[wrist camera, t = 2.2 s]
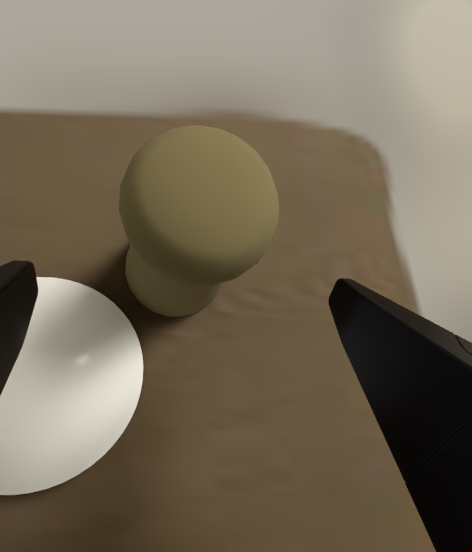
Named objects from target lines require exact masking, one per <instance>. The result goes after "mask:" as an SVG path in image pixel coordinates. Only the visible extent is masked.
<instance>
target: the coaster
mask: <svg viewBox="0 0 472 552" xmlns="http://www.w3.org/2000/svg"><path fill="white" fill-rule="evenodd" d="M36 278H37V284H38V297H37V300H36V303H35V307H34V310H33V314H32V317H31V320H30V324H29V327H28V330H27V334H26V337H25V340H24V343H23V346H22V349H21V351H20V353H19V356H18V358H17V360H16V362H15V365H14V367H13V369H12V371H11V373H10V376H9V378H8V380H7V382H6V385H5V387H4V389H3V391H2V393H1V396H0V495H18V494H26V493H32V492H36V491H40V490H44V489H48V488H50V487H53V486H56V485H58V484H61V483H63V482H65V481H67V480H69V479H71V478H73V477H75V476H77V475H78V474H80V473H81V472H83V471H84V470H86V469H87V468H89V467H90V466H92V465H93V464H94V463H95V462H96V461H98V460H99V459H100V458H101V457H102V456H103V455H104V454H105V453H106V452H107V451H108V450H109V449H110V448H111V447H112V446H113V445H114V444H115V442H116V441H117V440H118V438H119V437H120V436H121V435H122V433H123V432H124V430H125V428H126V427H127V425H128V423H129V422H130V420H131V418H132V415H133V413H134V411H135V409H136V406H137V403H138V400H139V396H140V392H141V387H142V381H143V356H142V350H141V346H140V342H139V339H138V337H137V334H136V332H135V330H134V328H133V326H132V324H131V322H130V321H129V320H128V318H127V317H126V316H125V314H124V313H123V312H122V311H121V310H120V309H119V308H118V307H117V306H116V305H115V304H114V303H113V302H112V301H111V300H109V299H108V298H107V297H106V296H104V295H103V294H101V293H99V292H98V291H96V290H94V289H92V288H90V287H88V286H85V285H83V284H81V283H77V282H74V281H70V280H66V279H59V278H49V277H36Z"/></svg>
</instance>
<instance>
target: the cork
mask: <svg viewBox="0 0 472 552" xmlns="http://www.w3.org/2000/svg"><path fill="white" fill-rule="evenodd" d="M119 212H120V215H121V219H122V222H123V226H124V229H125V232H126V236H127V239H128V241H129V243H130V247H129V250H128V253H127V256H126V266H125V275H126V278H127V282H128V285H129V289H130V290H131V292H132V293H133V294H134V296H135V297H136V299H137V300H138V301H139V302H140V303H141V304H142V305H144V306H145V307H146V308H148V309H149V310H151V311H152V312H155V313H158V314H161V315H164V316H167V317H184V316H187V315H190V314H193V313H197V312H199V311H200V310H202V309H203V308H205V307H206V306H207V305H209V304H210V303H211V302H212V301H213V299H214V298H215V296H216V295H217V294H218V292H219V291H220V289H221V287H222V285H223V283H224V282H226V281H230V280H233V279H235V278H237V277H238V276H240V275H241V274H243V273H244V272H245V271H247V270H248V269H250V268H251V267H252V266H254V265H255V264H257V263H258V262H259V260H260V259H261V257H262V256H263V255H264V253H265V252H266V250H267V249H268V247H269V246H270V244H271V242H272V240H273V237H274V234H275V230H276V226H277V223H278V219H279V202H278V193H277V190H276V187H275V184H274V182H273V179H272V176H271V173H270V170H269V168H268V167H267V166H266V164H265V163H264V161H263V160H262V159H261V157H260V156H259V154H258V153H257V152H256V151H255V150H254V149H253V148H251V147H250V146H249V145H248V144H247V143H245V142H244V141H243V140H242V139H241V138H239V137H237V136H235V135H232V134H230V133H228V132H226V131H224V130H222V129H219V128H213V127H207V126H201V125H193V126H185V127H177V128H174V129H171V130H169V131H167V132H165V133H162V134H160V135H158V136H156V137H154V138H152V139H150V140H149V141H148V142H147V143H146V144H145V145H144V146H143V147H142V148H141V149H140V150H139V151H138V152H137V153H136V154H135V155H134V156H133V158H132V160H131V162H130V164H129V167H128V169H127V171H126V173H125V175H124V178H123V180H122V182H121V185H120V201H119Z"/></svg>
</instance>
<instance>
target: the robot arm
mask: <svg viewBox="0 0 472 552" xmlns="http://www.w3.org/2000/svg"><path fill="white" fill-rule="evenodd" d="M37 297H38V284H37V278H36V273H35V268H34V265H33V263H32V262H30V261H17V260H15V261H11V262H9V263H7V264H4V265H2V266H0V396H1V393H2V391H3V389H4V387H5V385H6V382H7V380H8V378H9V376H10V373H11V371H12V369H13V367H14V365H15V362H16V360H17V358H18V356H19V353H20V351H21V349H22V346H23V343H24V340H25V337H26V334H27V330H28V327H29V324H30V320H31V317H32V314H33V310H34V307H35V303H36V300H37ZM329 306H330V309H331V312H332V315H333V318H334V321H335V324H336V327H337V330H338V333H339V336H340V339H341V342H342V344H343V347H344V349H345V351H346V353H347V356H348V358H349V360H350V362H351V364H352V367H353V369H354V371H355V373H356V375H357V378H358V380H359V382H360V384H361V387H362V389H363V391H364V393H365V395H366V398H367V400H368V402H369V404H370V406H371V409H372V411H373V413H374V415H375V417H376V420H377V422H378V424H379V426H380V428H381V431H382V433H383V435H384V437H385V439H386V442H387V444H388V446H389V448H390V450H391V453H392V455H393V457H394V459H395V461H396V464H397V466H398V468H399V470H400V472H401V475H402V477H403V479H404V481H406V482H405V484H406V486H407V488H408V491H409V493H410V495H411V497H412V499H413V502H414V504H415V506H416V508H417V510H418V513H419V515H420V517H421V519H422V521H423V524H424V526H425V528H426V530H427V532H428V535H429V537H430V539H431V541H432V543H433V546H434V548H435V550H436V552H472V343H471V342H469V341H467V340H465V339H463V338H461V337H459V336H458V335H454V334H453V333H452V332H450V331H448V330H446V329H444V328H442V327H440V326H439V325H437V324H435V323H433V322H431V321H429V320H427V319H425V318H424V317H422V316H420V315H418V314H416V313H414V312H412V311H410V310H408V309H407V308H405V307H403V306H401V305H399V304H397V303H395V302H393V301H392V300H390V299H388V298H386V297H384V296H382V295H380V294H378V293H376V292H375V291H373V290H371V289H369V288H367V287H365V286H363V285H361V284H360V283H358V282H356V281H354V280H352V279H345V278H340V279H338V280H337V281H336V283H335V285H334V288H333V290H332V292H331V294H330V297H329Z"/></svg>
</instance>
